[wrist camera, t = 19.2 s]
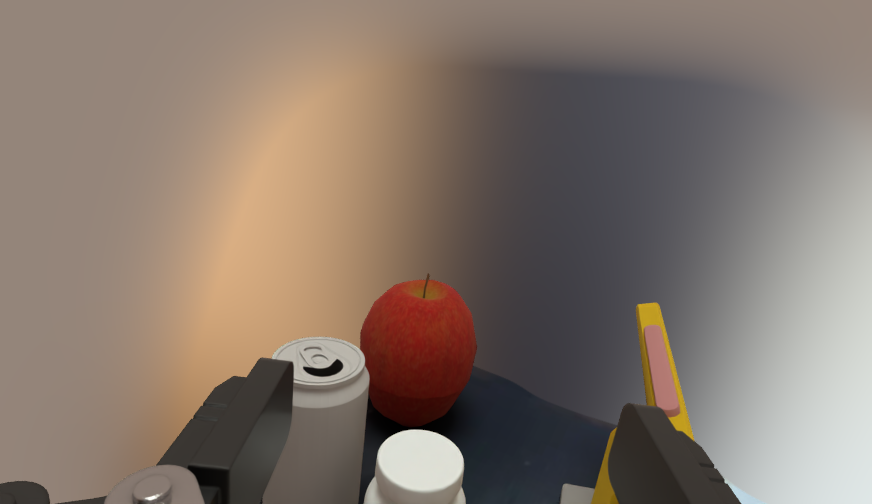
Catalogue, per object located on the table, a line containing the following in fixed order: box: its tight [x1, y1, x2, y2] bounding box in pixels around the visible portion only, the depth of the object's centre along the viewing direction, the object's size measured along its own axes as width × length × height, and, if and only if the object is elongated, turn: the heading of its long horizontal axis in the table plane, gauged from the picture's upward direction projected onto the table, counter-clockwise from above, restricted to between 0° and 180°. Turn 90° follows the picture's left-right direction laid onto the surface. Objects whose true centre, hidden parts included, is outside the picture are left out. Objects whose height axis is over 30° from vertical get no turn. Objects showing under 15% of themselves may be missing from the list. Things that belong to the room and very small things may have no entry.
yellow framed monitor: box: [560, 303, 694, 504], centre depth 30 cm, size 20×8×16 cm, turn 162°
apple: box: [360, 274, 477, 427], centre depth 43 cm, size 10×10×14 cm
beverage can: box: [263, 337, 370, 504], centre depth 33 cm, size 6×6×12 cm
